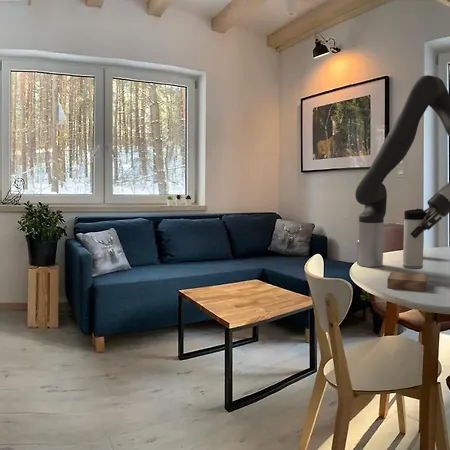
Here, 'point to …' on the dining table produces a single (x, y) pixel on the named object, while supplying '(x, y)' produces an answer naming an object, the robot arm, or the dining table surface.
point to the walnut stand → (407, 281)
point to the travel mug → (413, 240)
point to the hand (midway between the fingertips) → (409, 234)
